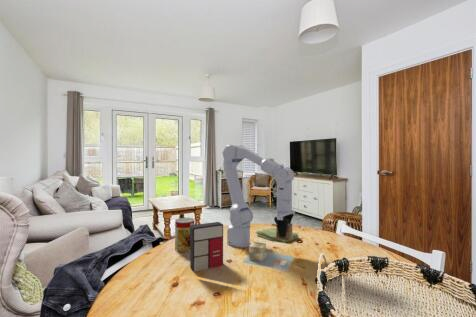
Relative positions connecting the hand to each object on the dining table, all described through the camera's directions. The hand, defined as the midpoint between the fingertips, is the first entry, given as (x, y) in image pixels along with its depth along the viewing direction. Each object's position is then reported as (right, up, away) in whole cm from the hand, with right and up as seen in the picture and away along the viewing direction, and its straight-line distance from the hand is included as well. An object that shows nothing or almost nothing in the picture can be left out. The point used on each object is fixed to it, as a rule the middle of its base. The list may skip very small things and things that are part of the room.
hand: (284, 234), depth 90 cm
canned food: (-40, -9, +9) cm, 42 cm away
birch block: (-10, -8, -3) cm, 13 cm away
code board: (-6, -9, -3) cm, 11 cm away
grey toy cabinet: (-28, -9, -9) cm, 31 cm away
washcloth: (+1, -10, +24) cm, 26 cm away
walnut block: (0, -1, 0) cm, 1 cm away
